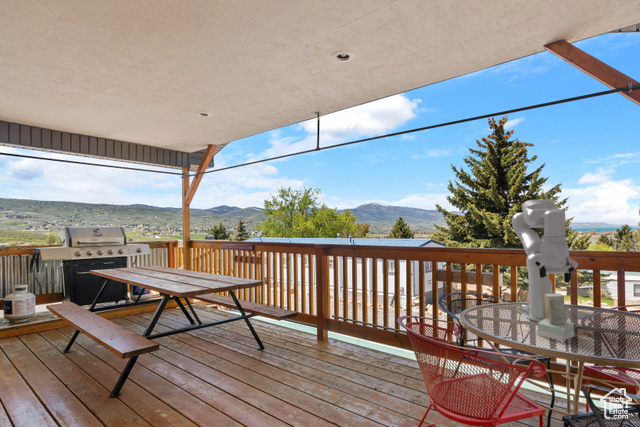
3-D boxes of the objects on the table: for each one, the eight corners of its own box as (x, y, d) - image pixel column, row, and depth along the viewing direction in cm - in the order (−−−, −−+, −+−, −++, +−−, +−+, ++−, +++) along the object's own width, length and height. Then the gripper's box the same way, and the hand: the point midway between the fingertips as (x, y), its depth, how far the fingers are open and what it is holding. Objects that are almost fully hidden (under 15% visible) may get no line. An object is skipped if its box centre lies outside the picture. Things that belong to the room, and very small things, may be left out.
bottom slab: (536, 335, 155) (536, 329, 155) (549, 330, 160) (549, 323, 160) (562, 343, 146) (562, 336, 146) (574, 337, 151) (574, 330, 151)
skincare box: (561, 320, 155) (560, 293, 154) (566, 324, 150) (565, 296, 150) (544, 320, 156) (543, 293, 155) (549, 324, 152) (548, 296, 151)
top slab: (537, 329, 154) (537, 323, 154) (547, 323, 160) (547, 317, 160) (564, 336, 146) (564, 329, 146) (573, 330, 152) (573, 323, 152)
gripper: (529, 238, 156) (529, 277, 157) (572, 243, 141) (572, 285, 142) (538, 236, 160) (538, 274, 161) (582, 240, 145) (582, 282, 146)
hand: (554, 279), depth 152 cm, fingers open, 9 cm apart
